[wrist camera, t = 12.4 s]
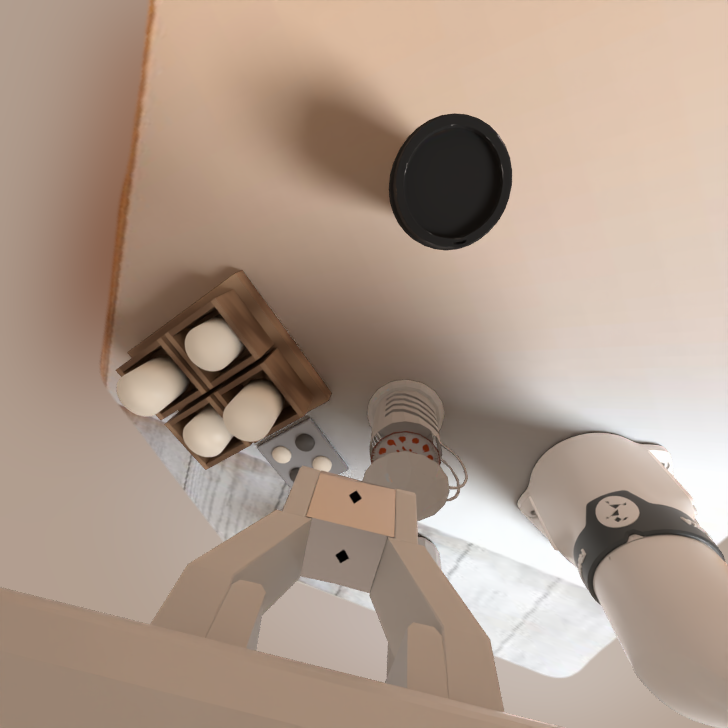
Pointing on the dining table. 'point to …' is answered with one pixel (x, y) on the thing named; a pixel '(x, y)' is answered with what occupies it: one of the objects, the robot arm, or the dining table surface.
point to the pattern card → (301, 452)
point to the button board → (233, 362)
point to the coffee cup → (450, 182)
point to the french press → (409, 444)
